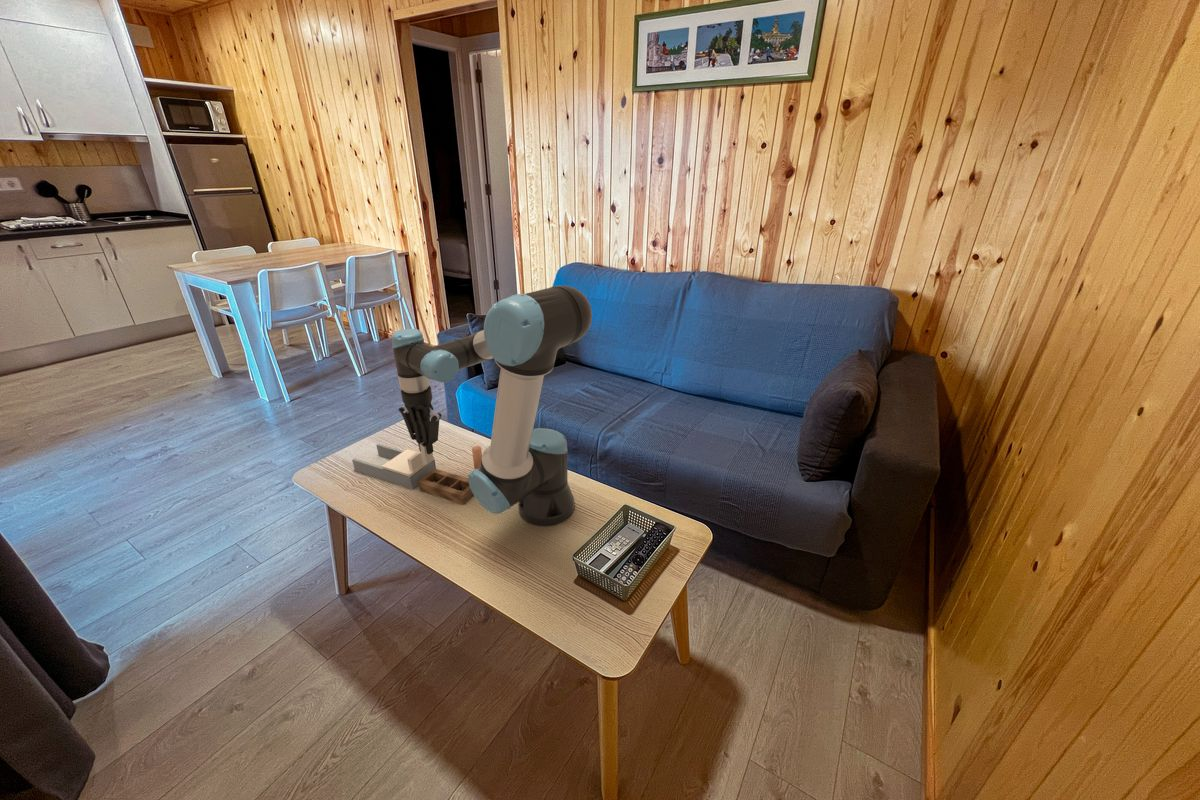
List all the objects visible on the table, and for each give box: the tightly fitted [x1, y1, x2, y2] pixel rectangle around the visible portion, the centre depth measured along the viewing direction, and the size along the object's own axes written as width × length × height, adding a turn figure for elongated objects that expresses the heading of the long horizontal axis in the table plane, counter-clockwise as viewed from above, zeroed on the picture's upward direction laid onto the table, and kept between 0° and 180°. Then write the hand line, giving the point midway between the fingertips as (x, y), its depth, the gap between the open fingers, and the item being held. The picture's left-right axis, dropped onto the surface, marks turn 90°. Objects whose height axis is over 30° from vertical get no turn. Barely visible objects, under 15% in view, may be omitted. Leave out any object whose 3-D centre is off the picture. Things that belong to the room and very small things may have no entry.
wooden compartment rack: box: [417, 468, 474, 505], centre depth 132 cm, size 15×7×3 cm, turn 67°
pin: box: [471, 445, 483, 470], centre depth 136 cm, size 3×3×10 cm
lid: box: [381, 448, 435, 477], centre depth 135 cm, size 10×10×5 cm
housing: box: [351, 443, 437, 490], centre depth 140 cm, size 22×10×4 cm, turn 67°
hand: (428, 461), depth 133 cm, fingers closed
